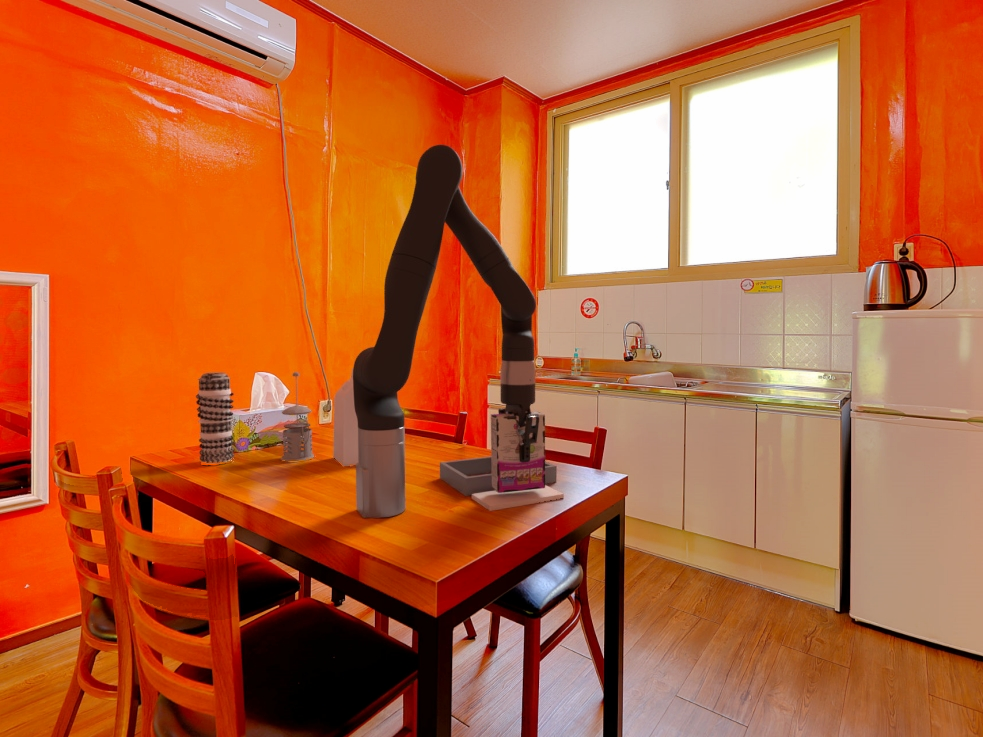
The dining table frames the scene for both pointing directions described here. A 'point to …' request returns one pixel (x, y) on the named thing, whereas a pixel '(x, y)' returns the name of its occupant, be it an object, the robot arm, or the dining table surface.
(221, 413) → the decorative candle
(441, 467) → the bin
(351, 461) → the milk
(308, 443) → the french press
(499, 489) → the candy bar box
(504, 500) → the board
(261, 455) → the dining table surface
